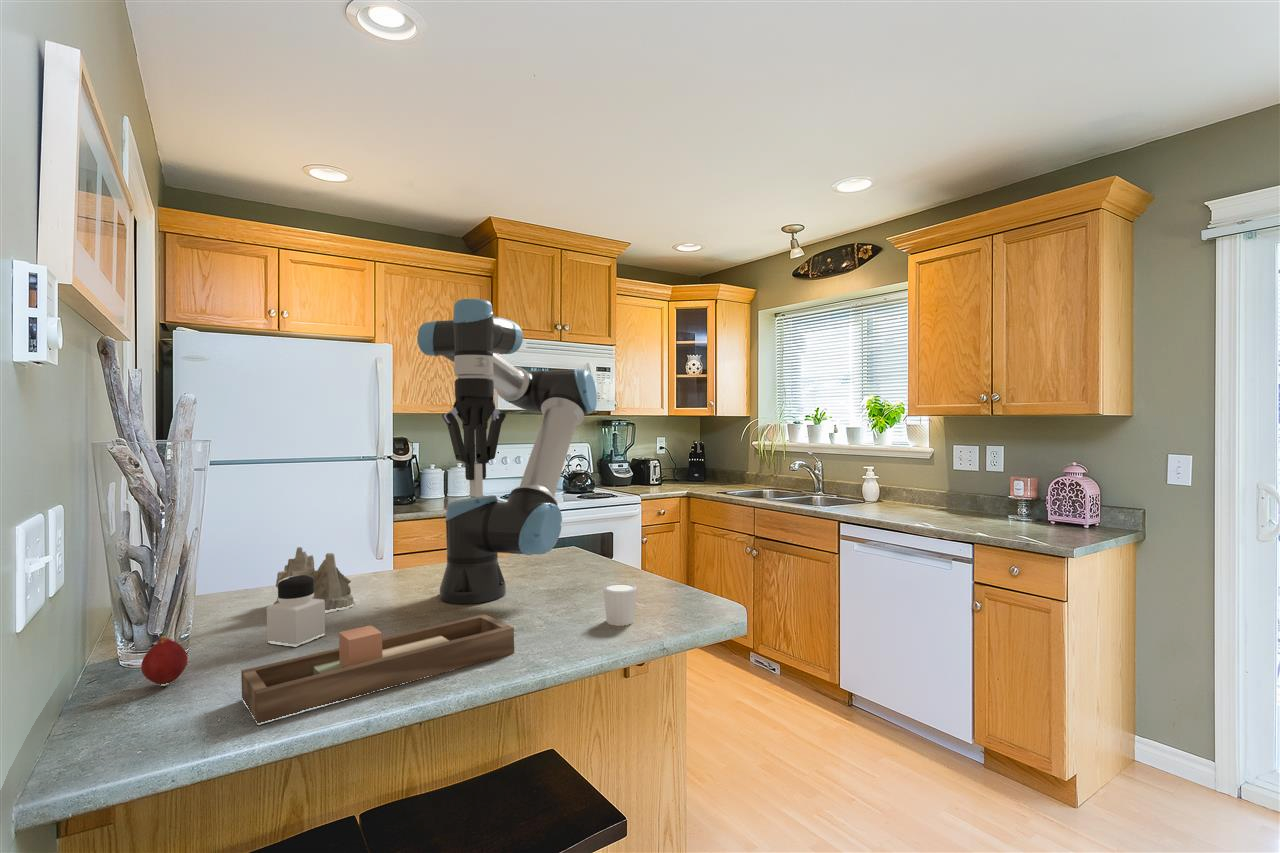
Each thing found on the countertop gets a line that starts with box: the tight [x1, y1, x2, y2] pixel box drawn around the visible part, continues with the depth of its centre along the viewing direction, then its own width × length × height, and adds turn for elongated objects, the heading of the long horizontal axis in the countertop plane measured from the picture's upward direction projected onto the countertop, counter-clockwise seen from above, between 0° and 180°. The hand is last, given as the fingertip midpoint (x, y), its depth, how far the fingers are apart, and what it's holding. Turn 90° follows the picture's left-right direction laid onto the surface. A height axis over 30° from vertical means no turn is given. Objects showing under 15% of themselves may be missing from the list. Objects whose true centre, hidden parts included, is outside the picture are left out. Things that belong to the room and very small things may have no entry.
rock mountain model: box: [272, 546, 355, 610], centre depth 145 cm, size 16×16×15 cm
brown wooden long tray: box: [240, 613, 515, 723], centre depth 105 cm, size 11×40×4 cm, turn 131°
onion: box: [141, 636, 189, 686], centre depth 102 cm, size 6×6×8 cm
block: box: [338, 625, 383, 668], centre depth 102 cm, size 5×5×5 cm
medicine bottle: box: [266, 575, 326, 645], centre depth 122 cm, size 7×7×12 cm
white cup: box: [602, 583, 638, 627], centre depth 131 cm, size 7×7×7 cm
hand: (476, 495), depth 129 cm, fingers closed
